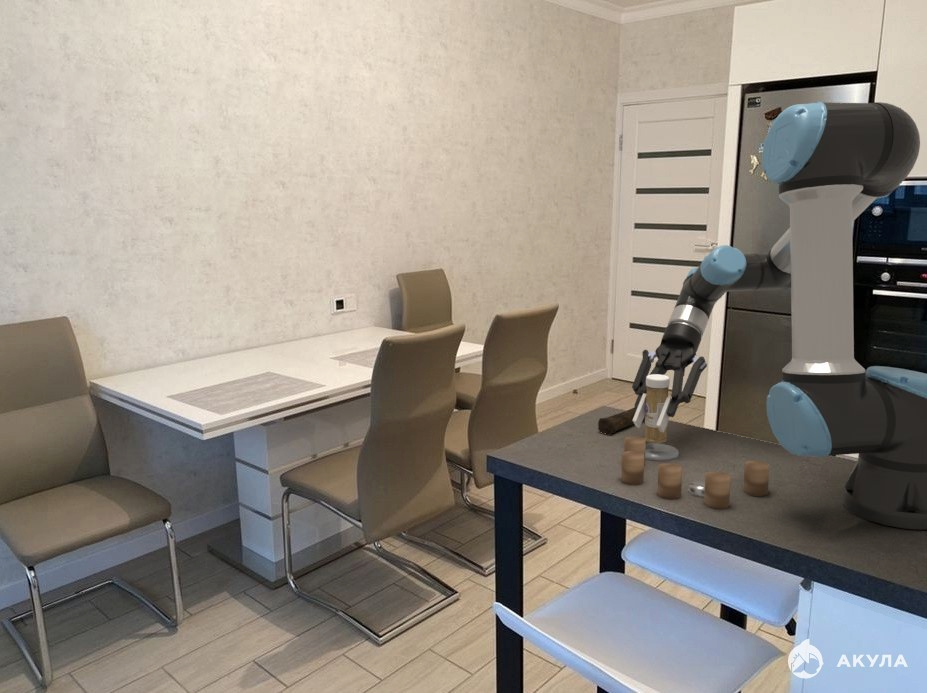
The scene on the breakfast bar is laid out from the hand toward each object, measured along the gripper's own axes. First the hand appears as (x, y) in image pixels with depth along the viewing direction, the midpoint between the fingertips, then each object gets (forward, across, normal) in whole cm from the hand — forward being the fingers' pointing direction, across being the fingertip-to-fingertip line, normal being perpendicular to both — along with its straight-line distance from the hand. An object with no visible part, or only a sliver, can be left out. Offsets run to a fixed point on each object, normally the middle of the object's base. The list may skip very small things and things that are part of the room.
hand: (648, 426), depth 140 cm
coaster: (+2, 0, -7) cm, 8 cm away
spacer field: (+10, -10, +1) cm, 14 cm away
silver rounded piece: (+12, -15, +3) cm, 19 cm away
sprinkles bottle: (0, 0, -6) cm, 6 cm away
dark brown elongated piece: (-8, +13, -18) cm, 23 cm away
